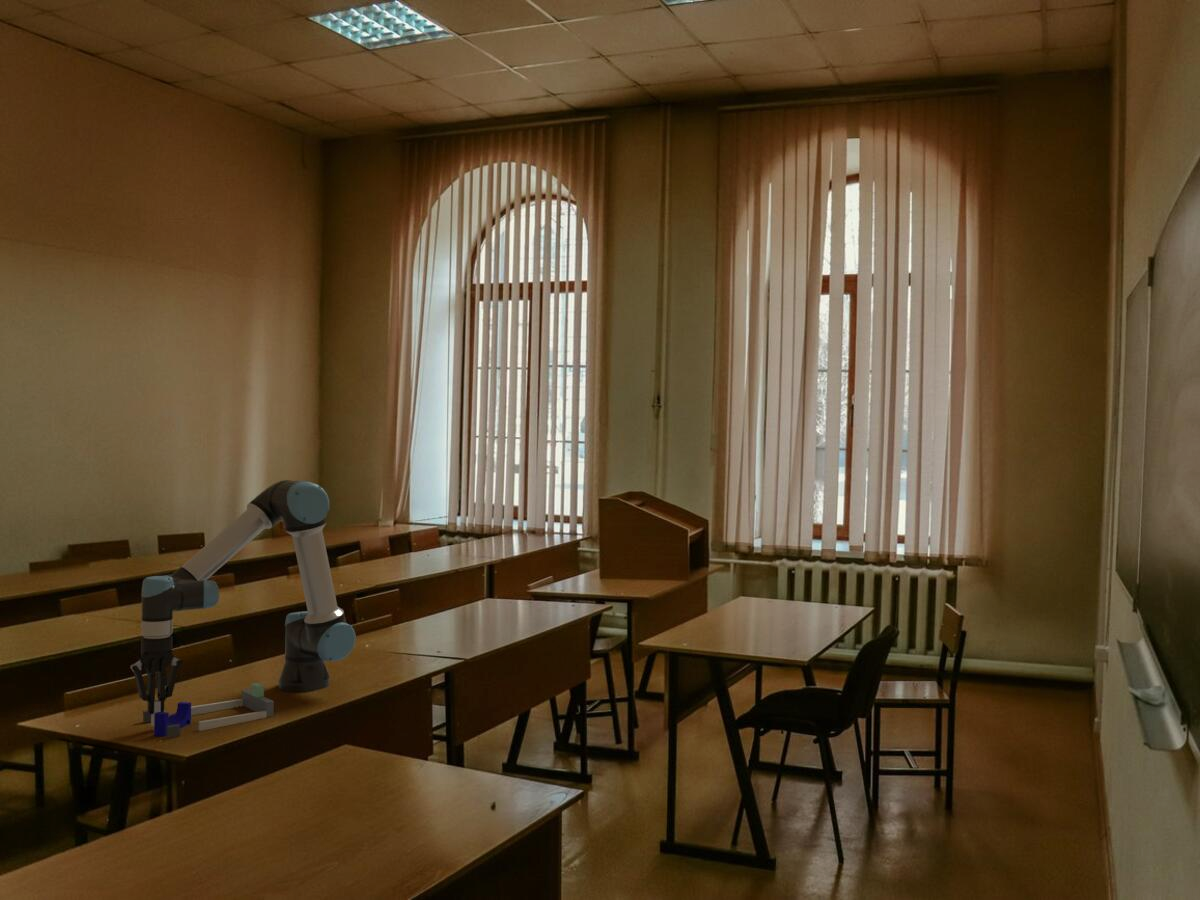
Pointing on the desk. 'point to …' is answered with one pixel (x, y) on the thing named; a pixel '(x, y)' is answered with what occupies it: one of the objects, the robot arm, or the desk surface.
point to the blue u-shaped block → (172, 719)
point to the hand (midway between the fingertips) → (155, 725)
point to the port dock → (249, 699)
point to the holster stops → (171, 730)
